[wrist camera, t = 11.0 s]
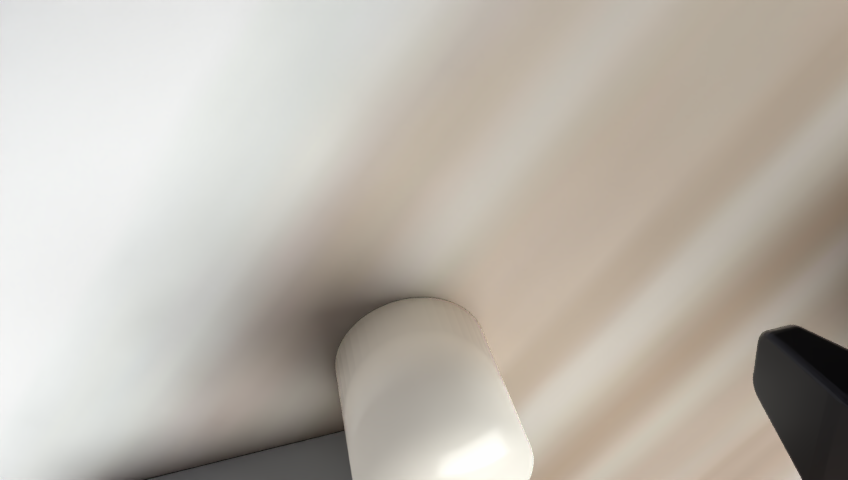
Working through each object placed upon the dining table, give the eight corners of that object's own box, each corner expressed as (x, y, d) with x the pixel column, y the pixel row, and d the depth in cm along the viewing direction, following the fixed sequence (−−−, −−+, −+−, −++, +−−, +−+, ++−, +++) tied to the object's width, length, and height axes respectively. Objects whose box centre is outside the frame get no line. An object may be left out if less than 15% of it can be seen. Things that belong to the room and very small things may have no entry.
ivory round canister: (478, 281, 23) (529, 395, 19) (490, 392, 26) (536, 512, 22) (320, 317, 23) (339, 442, 19) (350, 427, 26) (371, 556, 21)
